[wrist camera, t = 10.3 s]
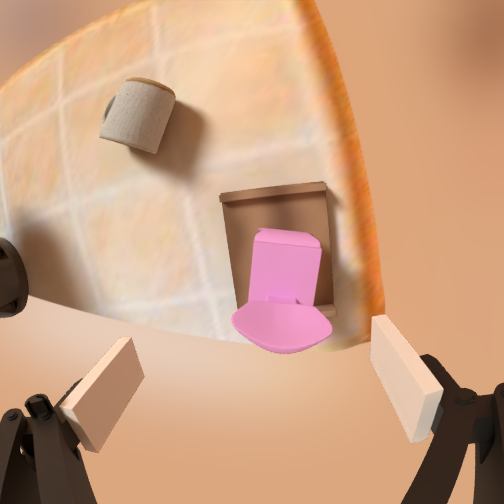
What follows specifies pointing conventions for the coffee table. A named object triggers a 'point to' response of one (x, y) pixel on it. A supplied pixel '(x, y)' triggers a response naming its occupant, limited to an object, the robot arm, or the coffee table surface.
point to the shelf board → (283, 218)
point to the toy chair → (283, 293)
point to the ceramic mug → (138, 114)
